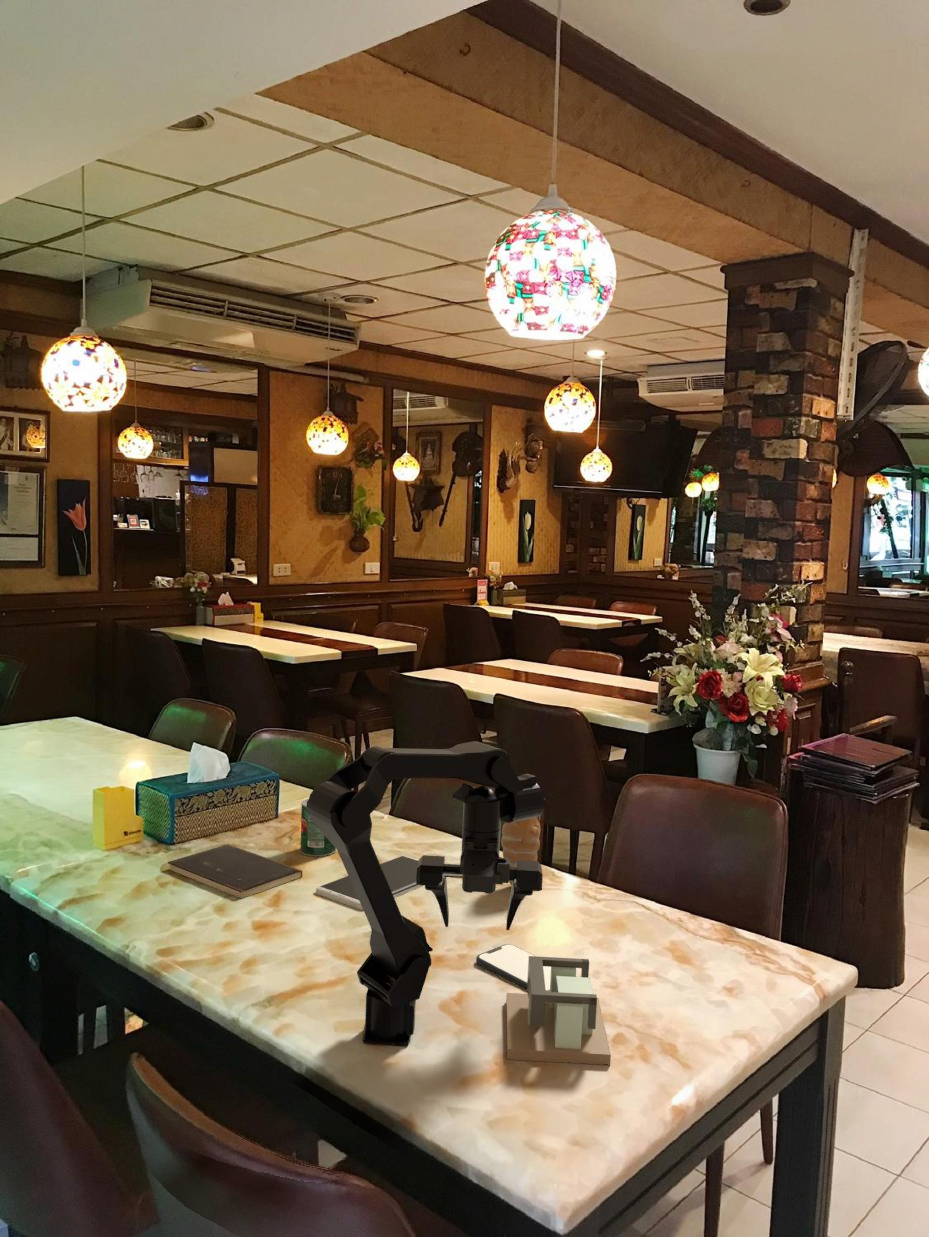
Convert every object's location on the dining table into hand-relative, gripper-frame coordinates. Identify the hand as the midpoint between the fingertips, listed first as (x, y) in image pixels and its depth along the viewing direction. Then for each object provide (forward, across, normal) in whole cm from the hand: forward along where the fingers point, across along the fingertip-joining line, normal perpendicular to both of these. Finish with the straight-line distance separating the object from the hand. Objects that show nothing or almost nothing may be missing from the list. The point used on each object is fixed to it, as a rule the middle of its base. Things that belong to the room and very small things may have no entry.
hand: (477, 927), depth 145 cm
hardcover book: (+13, -50, +49) cm, 71 cm away
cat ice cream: (+12, +8, +49) cm, 51 cm away
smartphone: (+13, -19, +48) cm, 53 cm away
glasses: (+8, +12, -7) cm, 16 cm away
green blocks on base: (+12, +12, -7) cm, 18 cm away
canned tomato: (+12, -36, +65) cm, 75 cm away
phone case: (+13, +8, +11) cm, 19 cm away
